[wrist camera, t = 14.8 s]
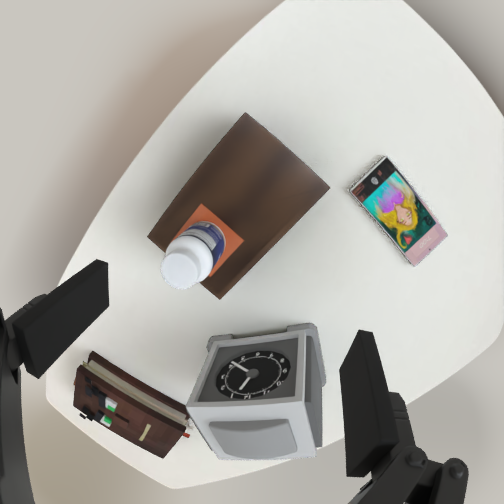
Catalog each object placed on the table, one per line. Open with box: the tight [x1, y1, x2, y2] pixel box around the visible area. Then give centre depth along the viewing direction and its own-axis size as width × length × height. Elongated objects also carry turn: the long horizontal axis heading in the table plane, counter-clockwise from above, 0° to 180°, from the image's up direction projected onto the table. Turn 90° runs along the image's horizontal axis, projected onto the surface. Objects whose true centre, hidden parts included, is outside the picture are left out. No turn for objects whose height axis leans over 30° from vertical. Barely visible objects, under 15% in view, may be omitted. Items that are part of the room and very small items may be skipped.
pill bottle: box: [161, 221, 226, 289], centre depth 35 cm, size 5×5×10 cm
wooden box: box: [147, 112, 330, 300], centre depth 40 cm, size 13×21×5 cm, turn 139°
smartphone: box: [350, 156, 448, 267], centre depth 38 cm, size 7×1×15 cm
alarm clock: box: [186, 323, 326, 460], centre depth 42 cm, size 18×13×18 cm
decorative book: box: [73, 351, 190, 458], centre depth 58 cm, size 19×8×30 cm
